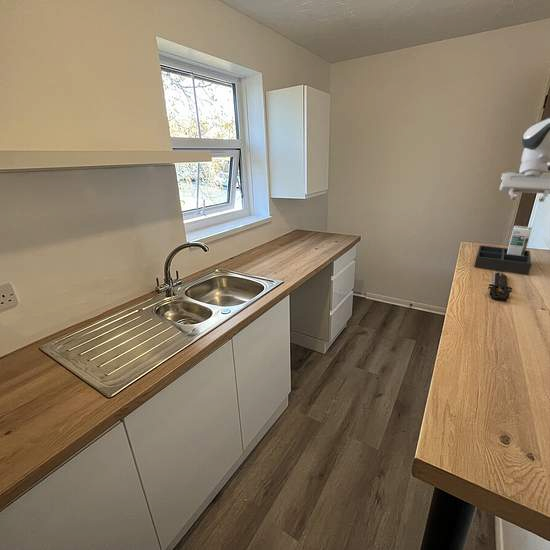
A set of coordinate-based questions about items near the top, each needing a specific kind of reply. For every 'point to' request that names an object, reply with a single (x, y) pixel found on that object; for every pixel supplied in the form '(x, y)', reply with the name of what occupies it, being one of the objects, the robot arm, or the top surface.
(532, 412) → the top surface
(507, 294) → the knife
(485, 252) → the tray
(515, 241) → the syrup box
